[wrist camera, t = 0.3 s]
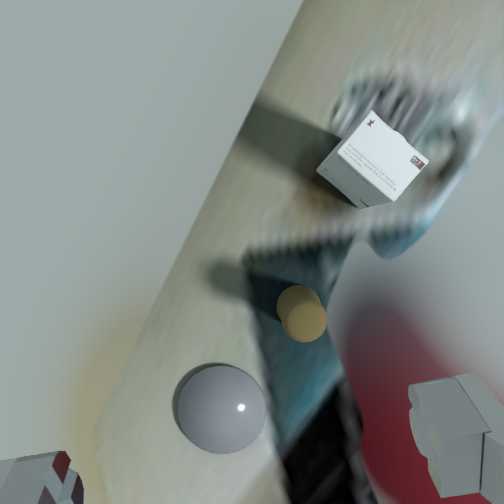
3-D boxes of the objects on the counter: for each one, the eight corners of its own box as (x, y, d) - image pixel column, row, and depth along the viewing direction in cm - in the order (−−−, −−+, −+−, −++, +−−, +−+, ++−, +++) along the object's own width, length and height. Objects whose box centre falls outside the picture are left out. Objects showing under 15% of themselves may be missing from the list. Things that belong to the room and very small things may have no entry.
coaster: (283, 414, 64) (283, 416, 63) (216, 468, 64) (216, 471, 63) (227, 347, 63) (226, 348, 63) (160, 402, 64) (159, 404, 63)
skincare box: (314, 171, 62) (330, 151, 47) (344, 136, 62) (369, 105, 47) (362, 211, 62) (392, 205, 47) (392, 177, 62) (432, 159, 47)
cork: (282, 334, 63) (286, 355, 52) (271, 291, 63) (272, 303, 52) (326, 322, 63) (338, 341, 52) (314, 279, 63) (324, 289, 52)
